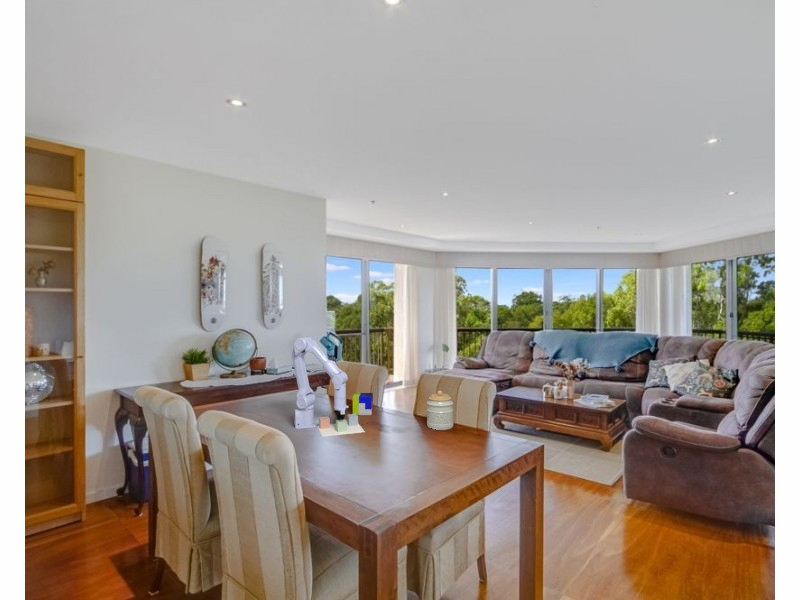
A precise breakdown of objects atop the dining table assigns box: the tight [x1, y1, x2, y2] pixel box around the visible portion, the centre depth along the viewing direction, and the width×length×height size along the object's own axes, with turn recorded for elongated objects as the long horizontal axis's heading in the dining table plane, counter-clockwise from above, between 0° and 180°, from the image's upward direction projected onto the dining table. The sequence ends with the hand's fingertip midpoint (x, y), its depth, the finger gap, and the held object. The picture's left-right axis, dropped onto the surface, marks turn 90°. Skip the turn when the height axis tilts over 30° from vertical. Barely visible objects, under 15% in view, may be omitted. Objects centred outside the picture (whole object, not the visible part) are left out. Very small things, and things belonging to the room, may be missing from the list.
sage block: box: [335, 419, 347, 432], centre depth 203 cm, size 4×4×4 cm
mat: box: [317, 423, 366, 438], centre depth 206 cm, size 20×18×1 cm
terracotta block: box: [318, 415, 331, 429], centre depth 208 cm, size 4×4×4 cm
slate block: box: [346, 413, 359, 426], centre depth 213 cm, size 4×4×4 cm
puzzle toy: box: [352, 392, 374, 416], centre depth 235 cm, size 10×10×10 cm
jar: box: [426, 390, 454, 431], centre depth 209 cm, size 13×13×18 cm
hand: (340, 425), depth 206 cm, fingers closed
